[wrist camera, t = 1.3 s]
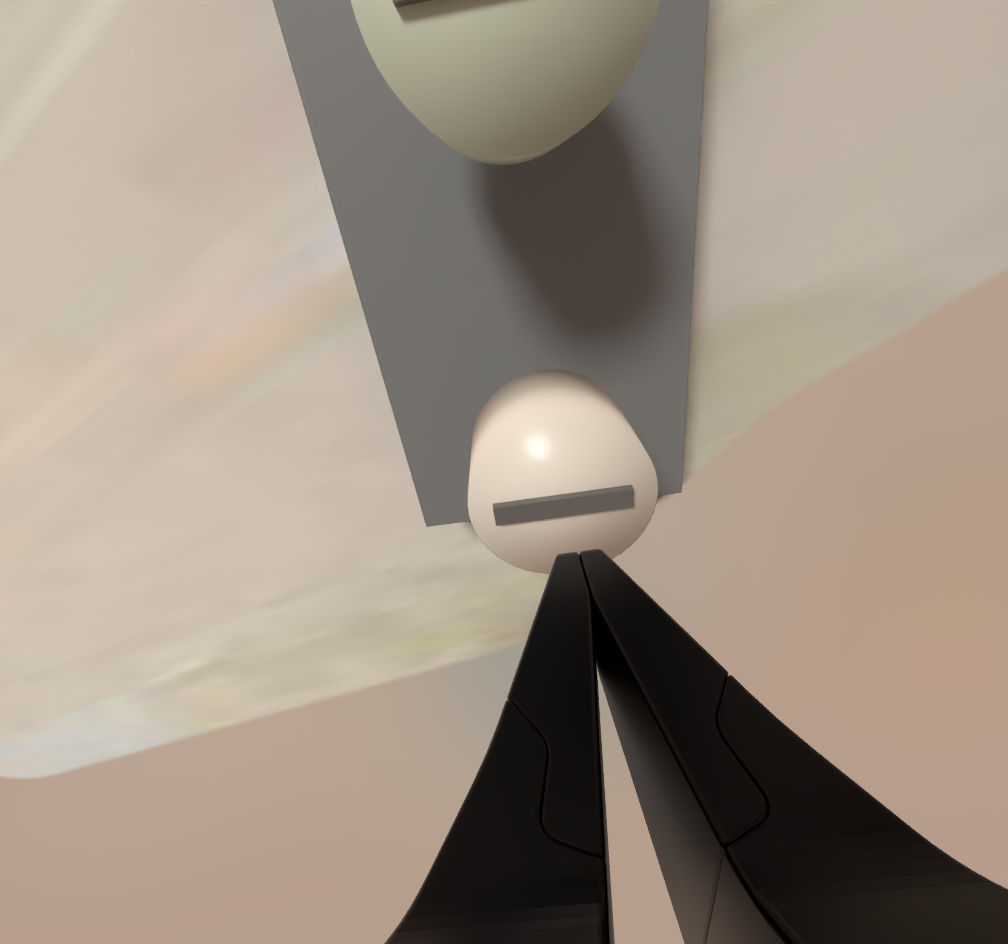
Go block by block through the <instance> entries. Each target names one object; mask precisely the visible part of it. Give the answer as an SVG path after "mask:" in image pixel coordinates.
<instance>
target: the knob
mask: <svg viewBox="0 0 1008 944" xmlns="http://www.w3.org/2000/svg"><path fill="white" fill-rule="evenodd" d="M657 495H658V482H657V476H656V471H655V468H654V466H653V463H652V461H651V459H650V457H649V455H648V454H647V452H646V450H645V449H644V447H643V445H642V444H641V442H640V440H639V439H638V437H637V435H636V434H635V432H634V430H633V429H632V427H631V425H630V424H629V422H628V420H627V419H626V417H625V415H624V414H623V412H622V410H621V409H620V407H619V405H618V404H617V402H616V400H615V399H614V397H613V396H612V395H611V394H610V393H609V391H608V390H606V389H605V388H604V387H603V386H602V385H601V384H599V383H598V382H596V381H595V380H593V379H591V378H589V377H587V376H585V375H583V374H579V373H576V372H573V371H567V370H558V369H549V370H539V371H535V372H530V373H527V374H524V375H521V376H519V377H517V378H515V379H513V380H511V381H509V382H508V383H506V384H505V385H503V386H502V387H500V388H499V389H498V390H497V391H496V392H495V393H493V395H492V396H491V397H490V398H489V399H488V400H487V401H486V403H485V404H484V406H483V407H482V409H481V411H480V413H479V415H478V417H477V419H476V422H475V425H474V429H473V435H472V447H471V460H470V473H469V486H468V511H469V517H470V520H471V523H472V526H473V528H474V530H475V532H476V534H477V536H478V537H479V538H480V540H481V541H482V543H483V544H484V545H485V546H486V547H487V548H488V549H489V550H490V551H491V552H492V553H494V554H495V555H496V556H497V557H499V558H500V559H502V560H504V561H505V562H507V563H509V564H511V565H513V566H515V567H518V568H521V569H524V570H528V571H532V572H536V573H545V574H550V572H551V569H552V567H553V564H554V561H555V558H556V556H557V555H558V554H562V553H570V552H577V553H578V554H580V552H581V551H585V550H593V549H600V550H602V551H603V552H604V553H605V554H606V555H607V556H608V557H610V558H611V559H613V558H615V557H616V556H617V555H619V554H621V553H622V552H624V551H625V550H626V549H627V548H629V547H630V546H631V545H632V544H633V543H634V542H635V541H636V540H637V539H638V538H639V536H640V535H641V534H642V532H643V531H644V530H645V528H646V527H647V525H648V523H649V522H650V520H651V517H652V515H653V513H654V509H655V506H656V502H657Z"/></svg>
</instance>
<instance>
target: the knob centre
mask: <svg viewBox="0 0 1008 944" xmlns="http://www.w3.org/2000/svg"><path fill="white" fill-rule="evenodd" d="M351 4H352V7H353V11H354V14H355V18H356V21H357V23H358V26H359V29H360V31H361V34H362V36H363V39H364V42H365V44H366V46H367V48H368V50H369V52H370V54H371V56H372V58H373V60H374V62H375V64H376V66H377V68H378V70H379V71H380V73H381V74H382V76H383V77H384V79H385V80H386V82H387V84H388V85H389V87H390V88H391V89H392V91H393V92H394V93H395V94H396V96H397V97H398V98H399V99H400V101H401V102H402V103H403V104H404V106H405V107H406V108H407V109H408V110H409V111H410V112H411V113H412V114H413V115H414V116H415V117H416V118H417V119H418V120H419V121H420V122H421V123H422V124H423V125H424V126H425V127H426V128H427V129H428V130H429V131H430V132H431V133H432V134H433V135H434V136H435V137H436V138H438V139H439V140H440V141H441V142H442V143H444V144H445V145H446V146H448V147H449V148H450V149H452V150H454V151H455V152H457V153H459V154H461V155H463V156H464V157H467V158H470V159H472V160H475V161H478V162H483V163H487V164H496V165H509V164H518V163H522V162H526V161H530V160H532V159H535V158H537V157H539V156H542V155H544V154H546V153H547V152H549V151H551V150H552V149H554V148H555V147H557V146H558V145H560V144H561V143H563V142H564V141H566V140H567V139H568V138H570V137H571V136H573V135H574V134H576V133H577V132H579V131H580V130H581V129H582V128H584V127H585V126H586V125H587V124H588V123H590V122H591V121H592V120H593V119H595V118H596V117H597V116H598V115H599V113H600V112H601V111H602V110H603V109H604V108H605V107H606V106H607V105H608V104H609V103H610V102H611V101H612V99H613V98H614V97H615V95H616V94H617V93H618V91H619V90H620V89H621V87H622V86H623V85H624V83H625V82H626V80H627V78H628V77H629V75H630V73H631V72H632V70H633V68H634V67H635V65H636V63H637V61H638V59H639V57H640V55H641V53H642V51H643V49H644V47H645V44H646V42H647V40H648V38H649V35H650V32H651V29H652V26H653V24H654V21H655V18H656V15H657V12H658V8H659V4H660V0H351Z"/></svg>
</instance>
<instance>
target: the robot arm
mask: <svg viewBox="0 0 1008 944" xmlns="http://www.w3.org/2000/svg"><path fill="white" fill-rule="evenodd" d="M596 664H597V667H596ZM597 669H598V672H599V676H600V679H601V683H602V685H603V689H604V692H605V695H606V698H607V701H608V705H609V708H610V711H611V714H612V717H613V720H614V723H615V727H616V730H617V733H618V736H619V739H620V742H621V745H622V748H623V752H624V755H625V758H626V761H627V764H628V767H629V770H630V773H631V777H632V780H633V783H634V786H635V789H636V792H637V795H638V799H639V802H640V805H641V808H642V811H643V814H644V817H645V821H646V824H647V827H648V830H649V833H650V836H651V839H652V843H653V846H654V849H655V852H656V855H657V858H658V861H659V865H660V868H661V871H662V874H663V877H664V880H665V883H666V886H667V890H668V893H669V896H670V899H671V902H672V905H673V908H674V911H675V914H676V918H677V920H678V924H679V927H680V930H681V933H682V937H683V939H684V943H685V944H1008V889H1006V888H1004V887H1002V886H1000V885H998V884H996V883H994V882H992V881H990V880H988V879H987V878H985V877H983V876H981V875H979V874H978V873H976V872H974V871H972V870H971V869H969V868H968V867H966V866H965V865H963V864H961V863H960V862H958V861H957V860H955V859H953V858H952V857H951V856H949V855H948V854H946V853H945V852H943V851H942V850H940V849H939V848H938V847H936V846H935V845H933V844H932V843H931V842H929V841H928V840H927V839H925V838H924V837H923V836H921V835H920V834H919V833H918V832H916V831H915V830H914V829H912V828H911V827H910V826H909V825H907V824H906V823H905V822H904V821H902V820H901V819H900V818H898V816H896V815H895V814H894V813H893V812H891V811H890V810H889V809H887V808H886V807H885V806H884V805H883V804H881V803H880V802H879V801H878V800H876V799H875V798H874V797H873V796H871V795H870V794H869V793H868V792H866V791H865V790H864V789H863V788H861V787H860V786H859V785H858V784H857V783H855V782H854V781H853V780H851V779H850V778H849V777H848V776H847V775H845V774H844V773H843V772H841V771H840V770H839V769H838V768H837V767H835V766H834V765H833V764H832V763H830V762H829V761H828V760H827V759H825V758H824V757H823V756H822V755H820V754H819V753H818V752H817V751H816V750H814V749H813V748H812V747H811V746H809V745H808V744H807V743H806V742H805V741H804V740H802V739H801V738H800V737H798V735H796V734H795V733H794V732H793V731H792V730H790V729H789V728H788V727H787V726H786V725H784V724H783V723H782V722H781V721H780V720H778V719H777V718H776V717H775V716H774V715H773V714H772V713H771V712H770V711H769V710H767V708H765V707H764V706H763V705H762V704H761V703H760V702H759V701H758V700H757V699H755V697H754V696H752V695H751V694H750V693H749V692H748V691H747V690H746V689H745V688H744V687H743V686H742V685H741V684H740V683H739V682H738V681H737V680H736V679H735V678H734V677H733V676H731V675H729V676H728V672H727V671H726V670H725V669H724V668H723V667H722V666H721V665H720V664H719V663H718V662H717V661H716V660H715V659H714V658H713V657H712V656H711V655H710V654H709V653H708V652H707V651H706V650H705V649H704V648H703V647H702V646H700V645H699V644H698V643H697V642H696V641H695V640H694V639H693V638H692V637H691V636H690V635H689V634H688V633H687V632H686V631H685V630H684V629H683V628H682V627H681V626H680V625H679V624H678V623H676V621H674V619H673V618H672V617H671V616H670V615H668V614H667V613H666V612H665V611H664V610H663V609H662V608H661V607H660V606H659V605H658V604H657V603H656V602H655V601H654V600H653V599H652V598H651V597H650V596H649V595H648V594H647V593H646V592H645V591H644V590H643V589H642V588H641V587H639V586H638V585H637V584H636V583H635V582H634V581H633V580H632V579H631V578H630V577H629V576H628V575H627V574H626V573H625V572H624V571H623V570H622V569H621V568H619V566H618V565H617V564H616V563H615V562H614V561H613V560H612V559H611V558H610V557H608V556H607V555H606V554H605V553H604V552H603V551H602V550H600V549H593V550H585V551H581V552H580V554H578V553H577V552H570V553H562V554H558V555H557V556H556V558H555V561H554V564H553V567H552V569H551V572H550V575H549V578H548V581H547V584H546V587H545V590H544V593H543V595H542V598H541V601H540V604H539V607H538V610H537V613H536V616H535V619H534V622H533V624H532V627H531V630H530V633H529V636H528V639H527V642H526V645H525V648H524V650H523V653H522V656H521V659H520V662H519V665H518V668H517V671H516V674H515V677H514V679H513V682H512V685H511V688H510V691H509V694H508V700H507V701H506V702H505V705H504V708H503V711H502V714H501V716H500V719H499V722H498V725H497V727H496V730H495V732H494V735H493V738H492V740H491V743H490V745H489V748H488V751H487V753H486V755H485V757H484V760H483V762H482V764H481V766H480V769H479V771H478V773H477V775H476V777H475V779H474V782H473V784H472V786H471V788H470V790H469V792H468V794H467V796H466V798H465V800H464V802H463V804H462V806H461V808H460V810H459V812H458V815H457V817H456V819H455V821H454V823H453V825H452V827H451V829H450V831H449V833H448V835H447V837H446V839H445V841H444V843H443V845H442V847H441V849H440V851H439V853H438V855H437V857H436V859H435V861H434V863H433V865H432V867H431V869H430V871H429V873H428V875H427V877H426V879H425V881H424V883H423V885H422V887H421V889H420V891H419V893H418V894H417V896H416V898H415V900H414V901H413V903H412V905H411V907H410V908H409V910H408V911H407V913H406V914H405V916H404V918H403V919H402V921H401V922H400V924H399V925H398V927H397V928H396V929H395V931H394V932H393V933H392V935H391V936H390V937H389V938H388V940H387V941H386V943H385V944H615V943H614V929H613V913H612V898H611V883H610V866H609V850H608V835H607V819H606V804H605V789H604V773H603V757H602V742H601V726H600V712H599V695H598V680H597Z"/></svg>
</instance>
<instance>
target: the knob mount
mask: <svg viewBox="0 0 1008 944" xmlns="http://www.w3.org/2000/svg"><path fill="white" fill-rule="evenodd" d="M273 3H274V7H275V10H276V14H277V17H278V21H279V24H280V27H281V31H282V34H283V38H284V41H285V44H286V48H287V51H288V55H289V58H290V62H291V65H292V68H293V72H294V75H295V79H296V82H297V85H298V89H299V92H300V96H301V99H302V103H303V106H304V109H305V113H306V116H307V120H308V123H309V126H310V130H311V133H312V137H313V140H314V144H315V147H316V150H317V154H318V157H319V161H320V164H321V167H322V171H323V174H324V178H325V181H326V185H327V188H328V191H329V195H330V198H331V202H332V205H333V209H334V212H335V215H336V219H337V222H338V226H339V229H340V232H341V236H342V239H343V243H344V246H345V250H346V253H347V256H348V260H349V263H350V267H351V270H352V273H353V277H354V280H355V284H356V287H357V291H358V294H359V297H360V301H361V304H362V308H363V311H364V314H365V318H366V321H367V325H368V328H369V332H370V335H371V338H372V342H373V345H374V349H375V352H376V355H377V359H378V362H379V366H380V369H381V373H382V376H383V379H384V383H385V386H386V390H387V393H388V396H389V400H390V403H391V407H392V410H393V414H394V417H395V420H396V424H397V427H398V431H399V434H400V437H401V441H402V444H403V448H404V451H405V455H406V458H407V461H408V465H409V468H410V472H411V475H412V479H413V482H414V485H415V489H416V492H417V496H418V499H419V502H420V506H421V509H422V513H423V516H424V520H425V523H426V526H427V527H429V526H436V525H444V524H451V523H458V522H466V521H471V520H470V517H469V511H468V486H469V473H470V460H471V447H472V435H473V429H474V425H475V422H476V419H477V417H478V415H479V413H480V411H481V409H482V407H483V406H484V404H485V403H486V401H487V400H488V399H489V398H490V397H491V396H492V395H493V393H495V392H496V391H497V390H498V389H499V388H500V387H502V386H503V385H505V384H506V383H508V382H509V381H511V380H513V379H515V378H517V377H519V376H521V375H524V374H527V373H530V372H535V371H539V370H549V369H558V370H567V371H573V372H576V373H579V374H583V375H585V376H587V377H589V378H591V379H593V380H595V381H596V382H598V383H599V384H601V385H602V386H603V387H604V388H605V389H606V390H608V391H609V393H610V394H611V395H612V396H613V397H614V399H615V400H616V402H617V404H618V405H619V407H620V409H621V410H622V412H623V414H624V415H625V417H626V419H627V420H628V422H629V424H630V425H631V427H632V429H633V430H634V432H635V434H636V435H637V437H638V439H639V440H640V442H641V444H642V445H643V447H644V449H645V450H646V452H647V454H648V455H649V457H650V459H651V461H652V463H653V466H654V468H655V471H656V476H657V482H658V495H666V494H673V493H680V492H682V475H683V456H684V437H685V419H686V400H687V381H688V362H689V344H690V325H691V306H692V287H693V269H694V250H695V231H696V213H697V194H698V175H699V156H700V138H701V119H702V100H703V81H704V63H705V44H706V25H707V7H708V0H660V4H659V8H658V12H657V15H656V18H655V21H654V24H653V26H652V29H651V32H650V35H649V38H648V40H647V42H646V44H645V47H644V49H643V51H642V53H641V55H640V57H639V59H638V61H637V63H636V65H635V67H634V68H633V70H632V72H631V73H630V75H629V77H628V78H627V80H626V82H625V83H624V85H623V86H622V87H621V89H620V90H619V91H618V93H617V94H616V95H615V97H614V98H613V99H612V101H611V102H610V103H609V104H608V105H607V106H606V107H605V108H604V109H603V110H602V111H601V112H600V113H599V115H598V116H597V117H596V118H595V119H593V120H592V121H591V122H590V123H588V124H587V125H586V126H585V127H584V128H582V129H581V130H580V131H579V132H577V133H576V134H574V135H573V136H571V137H570V138H568V139H567V140H566V141H564V142H563V143H561V144H560V145H558V146H557V147H555V148H554V149H552V150H551V151H549V152H547V153H546V154H544V155H542V156H539V157H537V158H535V159H532V160H530V161H526V162H522V163H518V164H509V165H496V164H487V163H483V162H478V161H475V160H472V159H470V158H467V157H464V156H463V155H461V154H459V153H457V152H455V151H454V150H452V149H450V148H449V147H448V146H446V145H445V144H444V143H442V142H441V141H440V140H439V139H438V138H436V137H435V136H434V135H433V134H432V133H431V132H430V131H429V130H428V129H427V128H426V127H425V126H424V125H423V124H422V123H421V122H420V121H419V120H418V119H417V118H416V117H415V116H414V115H413V114H412V113H411V112H410V111H409V110H408V109H407V108H406V107H405V106H404V104H403V103H402V102H401V101H400V99H399V98H398V97H397V96H396V94H395V93H394V92H393V91H392V89H391V88H390V87H389V85H388V84H387V82H386V80H385V79H384V77H383V76H382V74H381V73H380V71H379V70H378V68H377V66H376V64H375V62H374V60H373V58H372V56H371V54H370V52H369V50H368V48H367V46H366V44H365V42H364V39H363V36H362V34H361V31H360V29H359V26H358V23H357V21H356V18H355V14H354V11H353V7H352V4H351V0H273ZM658 495H657V496H658Z"/></svg>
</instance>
